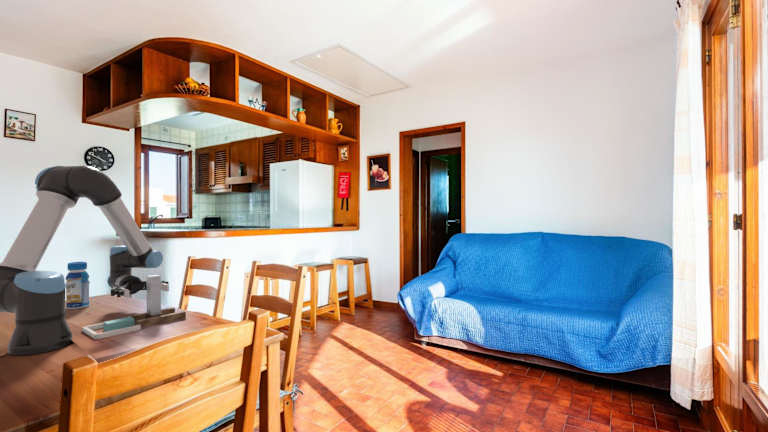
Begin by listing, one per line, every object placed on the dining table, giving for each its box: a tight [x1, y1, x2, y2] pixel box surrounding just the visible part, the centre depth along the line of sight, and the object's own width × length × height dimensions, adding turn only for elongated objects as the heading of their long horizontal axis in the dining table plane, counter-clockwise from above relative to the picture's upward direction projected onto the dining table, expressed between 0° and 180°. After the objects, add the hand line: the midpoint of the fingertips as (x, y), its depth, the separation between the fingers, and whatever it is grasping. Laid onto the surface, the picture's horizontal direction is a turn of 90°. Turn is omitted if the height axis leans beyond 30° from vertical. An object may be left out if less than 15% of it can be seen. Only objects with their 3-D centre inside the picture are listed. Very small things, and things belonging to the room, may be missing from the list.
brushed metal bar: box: [145, 274, 162, 319], centre depth 141 cm, size 4×6×17 cm, turn 53°
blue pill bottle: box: [65, 261, 91, 310], centre depth 169 cm, size 8×8×20 cm
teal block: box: [116, 316, 134, 329], centre depth 134 cm, size 4×4×4 cm
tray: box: [81, 322, 142, 340], centre depth 130 cm, size 13×14×3 cm
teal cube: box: [103, 318, 121, 332], centre depth 130 cm, size 4×4×4 cm
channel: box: [126, 306, 187, 329], centre depth 142 cm, size 16×11×4 cm
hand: (148, 291), depth 145 cm, fingers open, 13 cm apart
